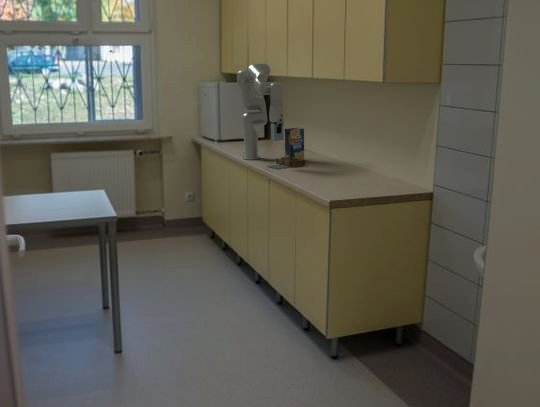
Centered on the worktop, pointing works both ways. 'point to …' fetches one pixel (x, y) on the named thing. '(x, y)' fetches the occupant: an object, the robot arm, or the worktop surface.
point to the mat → (277, 166)
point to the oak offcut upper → (286, 158)
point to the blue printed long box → (294, 143)
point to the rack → (294, 162)
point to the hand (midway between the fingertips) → (277, 132)
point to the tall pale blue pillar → (274, 134)
